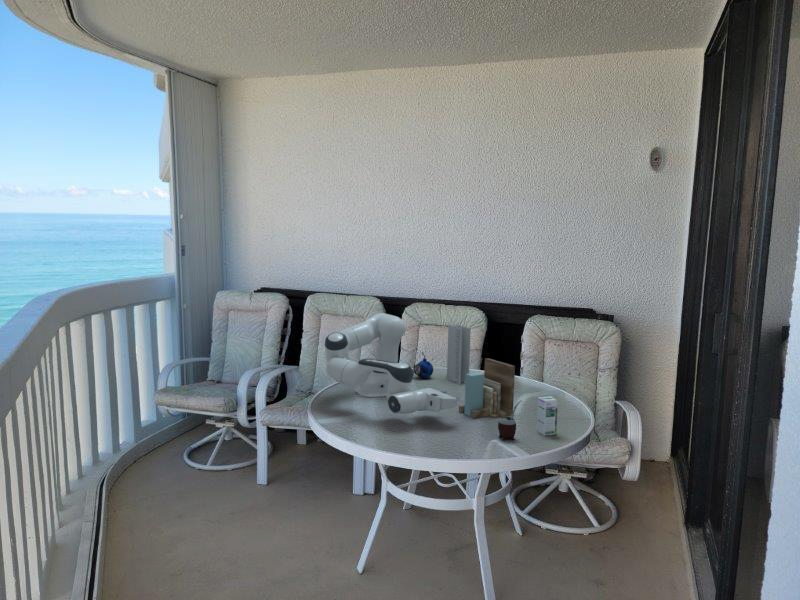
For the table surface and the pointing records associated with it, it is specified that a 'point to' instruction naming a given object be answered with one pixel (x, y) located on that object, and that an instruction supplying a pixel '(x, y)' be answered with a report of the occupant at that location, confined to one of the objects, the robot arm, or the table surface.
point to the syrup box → (547, 415)
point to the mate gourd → (507, 426)
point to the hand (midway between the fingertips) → (452, 395)
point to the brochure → (458, 353)
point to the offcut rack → (506, 377)
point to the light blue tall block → (473, 392)
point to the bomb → (423, 368)
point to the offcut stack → (491, 395)
